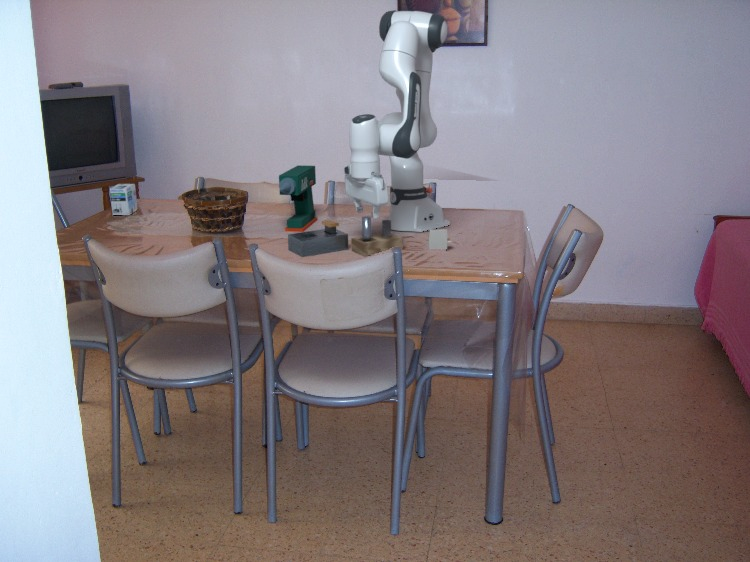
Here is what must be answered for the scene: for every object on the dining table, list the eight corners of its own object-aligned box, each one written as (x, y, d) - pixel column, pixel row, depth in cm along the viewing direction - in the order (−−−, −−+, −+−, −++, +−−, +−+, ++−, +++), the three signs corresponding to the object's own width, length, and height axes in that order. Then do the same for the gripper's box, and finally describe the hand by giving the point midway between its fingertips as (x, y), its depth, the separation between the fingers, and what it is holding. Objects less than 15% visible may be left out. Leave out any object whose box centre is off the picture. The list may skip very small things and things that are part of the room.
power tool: (293, 241, 257) (290, 181, 251) (272, 241, 258) (269, 180, 252) (319, 220, 287) (317, 165, 281) (300, 219, 288) (298, 165, 282)
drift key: (331, 244, 252) (330, 219, 249) (339, 247, 247) (338, 222, 245) (322, 245, 250) (321, 221, 248) (330, 249, 246) (329, 224, 243)
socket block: (333, 242, 255) (332, 227, 253) (348, 249, 246) (348, 234, 245) (288, 249, 247) (287, 234, 245) (302, 257, 239) (301, 241, 237)
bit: (368, 250, 245) (368, 215, 242) (373, 252, 243) (372, 217, 240) (361, 251, 244) (360, 217, 240) (365, 253, 241) (364, 218, 238)
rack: (389, 244, 252) (389, 217, 249) (403, 249, 245) (403, 221, 242) (351, 250, 245) (350, 222, 242) (364, 256, 238) (363, 227, 236)
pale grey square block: (427, 250, 246) (427, 227, 244) (449, 249, 246) (449, 226, 244) (428, 253, 243) (428, 229, 241) (451, 252, 243) (451, 229, 241)
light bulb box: (129, 216, 297) (126, 188, 294) (112, 216, 297) (108, 188, 294) (138, 210, 307) (135, 183, 304) (121, 210, 307) (118, 183, 304)
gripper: (392, 173, 229) (394, 219, 233) (358, 164, 246) (360, 207, 250) (374, 176, 226) (375, 223, 230) (340, 167, 243) (342, 210, 247)
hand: (367, 215), depth 240 cm, fingers open, 8 cm apart
